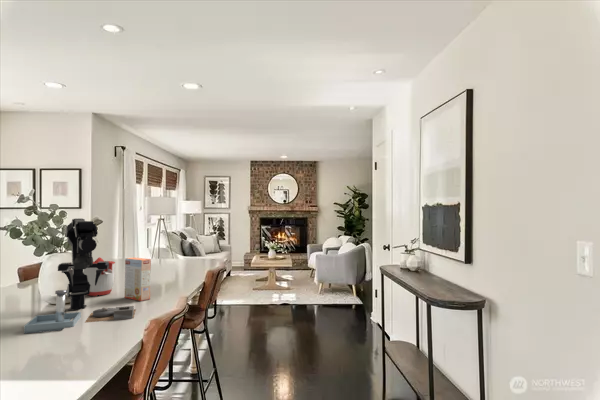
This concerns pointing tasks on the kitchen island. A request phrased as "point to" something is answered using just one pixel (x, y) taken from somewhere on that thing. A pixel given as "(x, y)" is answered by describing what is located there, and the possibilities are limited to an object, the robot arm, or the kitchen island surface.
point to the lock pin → (60, 305)
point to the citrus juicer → (101, 279)
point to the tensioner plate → (112, 314)
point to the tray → (50, 323)
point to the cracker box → (137, 278)
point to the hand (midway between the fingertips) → (83, 285)
